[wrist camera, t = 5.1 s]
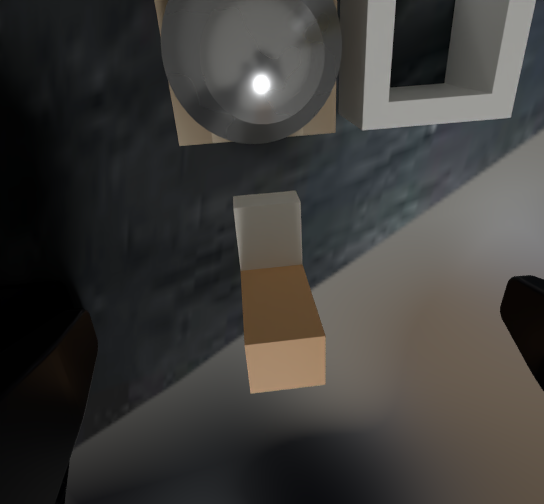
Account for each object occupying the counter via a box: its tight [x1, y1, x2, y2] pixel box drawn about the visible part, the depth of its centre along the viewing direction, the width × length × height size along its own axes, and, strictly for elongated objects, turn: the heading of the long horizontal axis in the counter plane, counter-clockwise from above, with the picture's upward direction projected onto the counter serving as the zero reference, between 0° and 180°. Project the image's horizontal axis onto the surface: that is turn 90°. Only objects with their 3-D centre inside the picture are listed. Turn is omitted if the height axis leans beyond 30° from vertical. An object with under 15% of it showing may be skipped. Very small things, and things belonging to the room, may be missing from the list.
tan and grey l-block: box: [233, 191, 326, 393], centre depth 14 cm, size 2×5×6 cm, turn 4°
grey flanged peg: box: [161, 0, 342, 144], centre depth 14 cm, size 6×6×9 cm
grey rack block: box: [338, 0, 536, 130], centre depth 17 cm, size 6×6×4 cm
